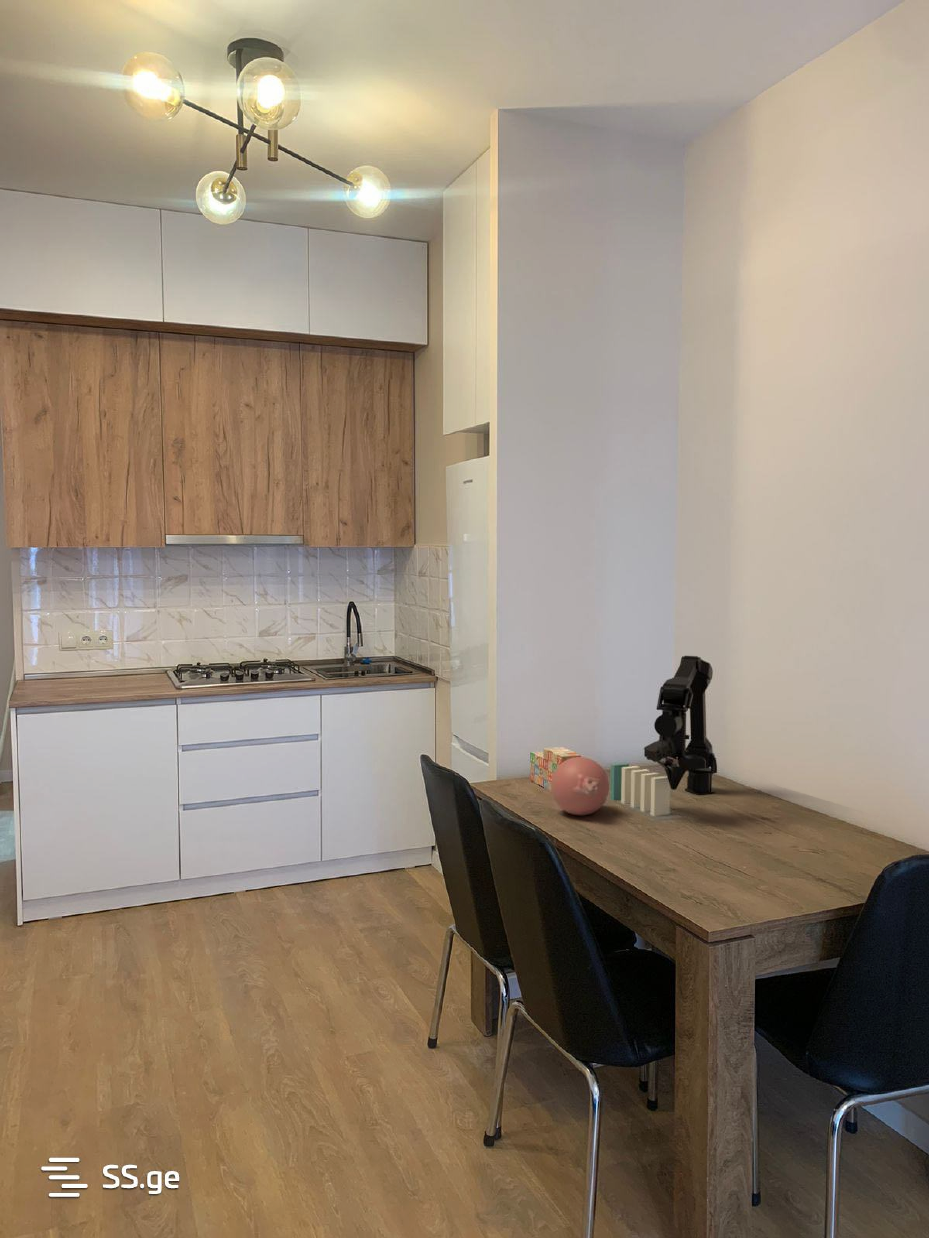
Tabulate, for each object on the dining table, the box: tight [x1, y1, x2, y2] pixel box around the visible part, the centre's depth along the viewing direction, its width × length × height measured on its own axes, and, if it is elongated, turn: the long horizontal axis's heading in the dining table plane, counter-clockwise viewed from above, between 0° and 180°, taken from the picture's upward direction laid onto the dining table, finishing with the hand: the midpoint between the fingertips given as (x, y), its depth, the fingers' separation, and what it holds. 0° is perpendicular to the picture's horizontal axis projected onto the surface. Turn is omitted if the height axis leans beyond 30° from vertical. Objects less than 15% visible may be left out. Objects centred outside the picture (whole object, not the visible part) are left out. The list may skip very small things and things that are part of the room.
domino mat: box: [608, 800, 682, 821], centre depth 256 cm, size 8×27×1 cm, turn 25°
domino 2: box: [631, 768, 651, 808], centre depth 256 cm, size 2×5×10 cm, turn 116°
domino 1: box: [621, 765, 641, 804], centre depth 260 cm, size 2×5×10 cm, turn 116°
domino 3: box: [640, 772, 661, 812], centre depth 252 cm, size 2×5×10 cm, turn 115°
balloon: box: [550, 756, 610, 816], centre depth 246 cm, size 15×20×15 cm
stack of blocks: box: [529, 746, 582, 790], centre depth 277 cm, size 21×6×12 cm, turn 21°
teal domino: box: [609, 762, 630, 800], centre depth 264 cm, size 2×5×10 cm, turn 115°
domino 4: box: [650, 775, 671, 816], centre depth 248 cm, size 2×5×10 cm, turn 116°
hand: (673, 789), depth 244 cm, fingers closed
